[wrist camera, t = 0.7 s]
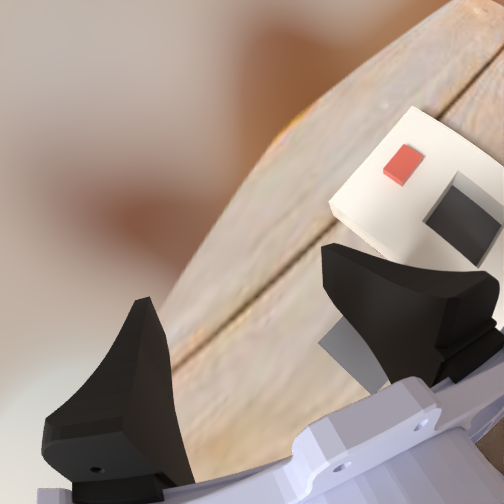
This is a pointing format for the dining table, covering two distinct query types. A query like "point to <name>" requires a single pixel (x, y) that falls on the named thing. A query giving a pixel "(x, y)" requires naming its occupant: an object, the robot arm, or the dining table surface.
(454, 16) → the dining table surface
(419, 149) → the socket plate
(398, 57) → the dining table surface
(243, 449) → the dining table surface
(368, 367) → the plug
